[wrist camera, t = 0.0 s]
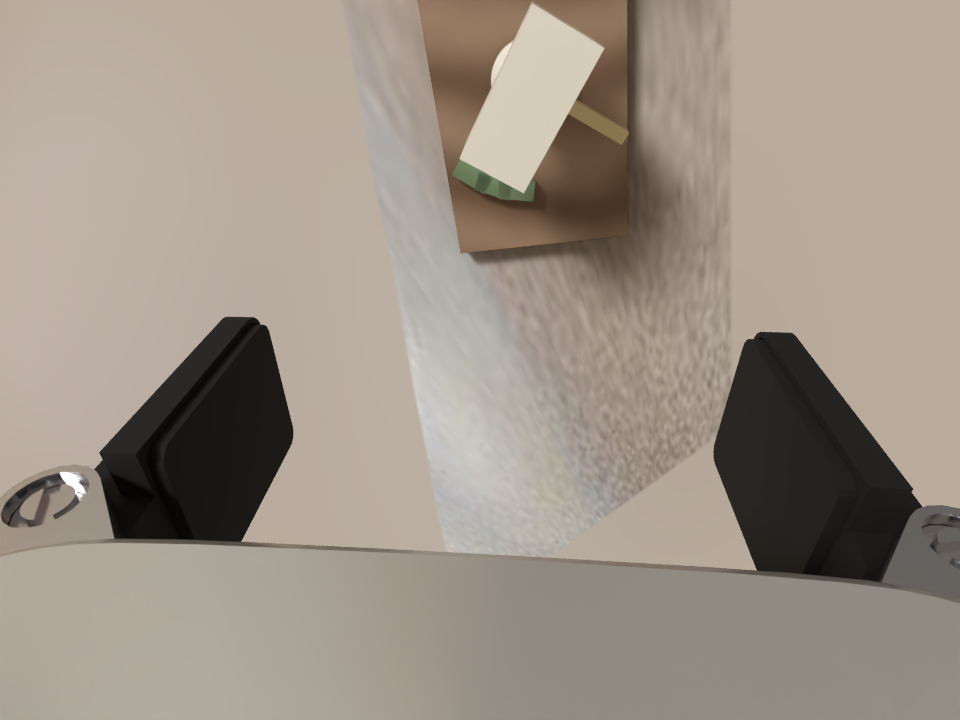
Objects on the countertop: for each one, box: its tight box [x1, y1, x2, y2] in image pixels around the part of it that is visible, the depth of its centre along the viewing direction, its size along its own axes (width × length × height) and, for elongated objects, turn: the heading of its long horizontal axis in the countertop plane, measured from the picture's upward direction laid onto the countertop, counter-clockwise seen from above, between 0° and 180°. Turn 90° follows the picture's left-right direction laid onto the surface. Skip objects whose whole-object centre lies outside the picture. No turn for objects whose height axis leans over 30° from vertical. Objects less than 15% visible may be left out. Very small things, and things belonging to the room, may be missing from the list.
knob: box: [459, 2, 629, 193], centre depth 31 cm, size 9×7×10 cm
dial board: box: [418, 0, 627, 253], centre depth 35 cm, size 22×12×2 cm, turn 8°
